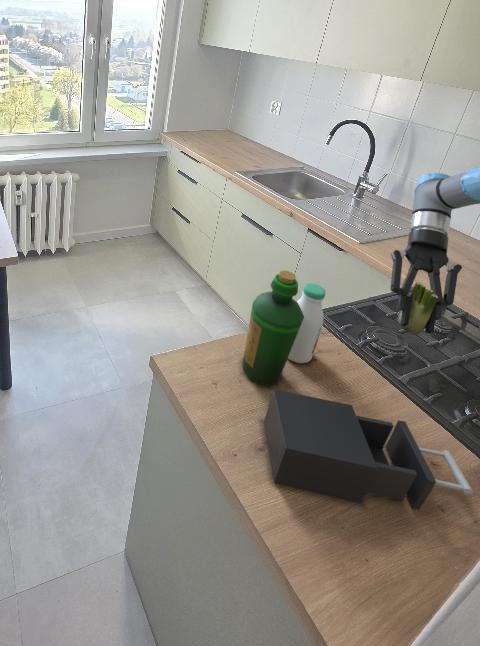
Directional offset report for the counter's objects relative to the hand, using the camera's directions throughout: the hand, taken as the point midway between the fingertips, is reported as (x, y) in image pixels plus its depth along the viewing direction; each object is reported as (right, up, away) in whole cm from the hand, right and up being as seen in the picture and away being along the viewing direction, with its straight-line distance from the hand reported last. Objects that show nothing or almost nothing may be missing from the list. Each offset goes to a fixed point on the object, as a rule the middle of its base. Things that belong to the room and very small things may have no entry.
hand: (416, 328), depth 94 cm
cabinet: (-32, -21, -14) cm, 40 cm away
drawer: (-18, -22, -16) cm, 33 cm away
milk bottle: (-22, -10, +12) cm, 27 cm away
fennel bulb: (+1, -2, +5) cm, 5 cm away
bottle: (-33, -12, +6) cm, 36 cm away
